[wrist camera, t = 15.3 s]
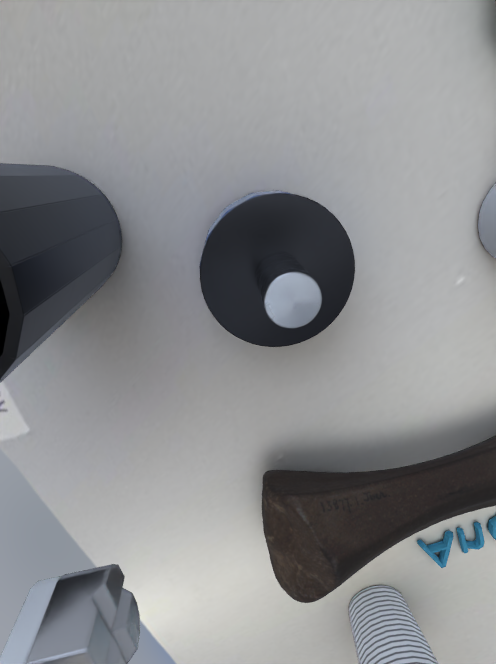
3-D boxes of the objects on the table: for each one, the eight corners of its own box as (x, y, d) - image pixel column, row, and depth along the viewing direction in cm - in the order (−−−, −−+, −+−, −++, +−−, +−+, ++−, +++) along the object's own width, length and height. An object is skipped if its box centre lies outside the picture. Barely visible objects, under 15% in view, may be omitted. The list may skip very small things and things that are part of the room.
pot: (7, 301, 31) (-199, 423, 16) (-27, 170, 28) (-325, 166, 13) (130, 292, 32) (46, 405, 16) (110, 162, 29) (-18, 150, 13)
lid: (207, 346, 30) (203, 395, 23) (193, 197, 26) (184, 205, 20) (347, 336, 30) (384, 381, 24) (352, 188, 27) (396, 192, 20)
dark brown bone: (255, 505, 42) (511, 406, 44) (294, 628, 35) (597, 505, 37) (232, 460, 34) (549, 340, 35) (278, 609, 27) (669, 451, 29)
